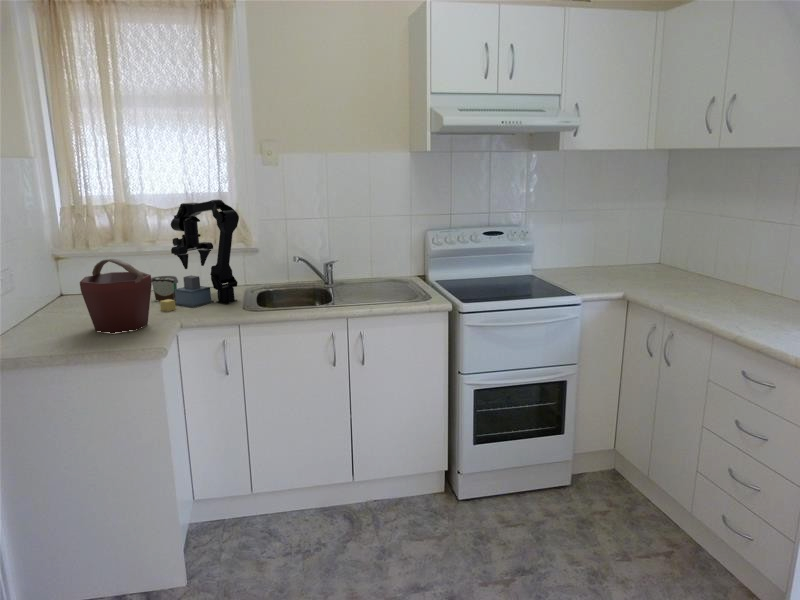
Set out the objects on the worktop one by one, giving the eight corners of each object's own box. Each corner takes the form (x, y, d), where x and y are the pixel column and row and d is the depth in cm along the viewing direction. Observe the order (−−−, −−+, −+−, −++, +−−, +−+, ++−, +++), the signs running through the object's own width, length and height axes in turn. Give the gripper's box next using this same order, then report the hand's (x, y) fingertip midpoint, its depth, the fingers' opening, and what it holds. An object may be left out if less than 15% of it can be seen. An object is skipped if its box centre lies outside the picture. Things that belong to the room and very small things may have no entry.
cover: (211, 301, 246) (209, 275, 243) (192, 306, 237) (190, 279, 234) (194, 298, 250) (192, 273, 248) (176, 303, 242) (173, 277, 239)
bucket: (164, 328, 207) (157, 259, 201) (98, 341, 192) (88, 268, 186) (138, 316, 224) (131, 252, 218) (76, 327, 209) (66, 259, 203)
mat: (214, 301, 246) (214, 300, 246) (192, 307, 236) (192, 306, 236) (194, 298, 252) (194, 297, 252) (172, 304, 241) (172, 303, 241)
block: (175, 309, 233) (174, 300, 233) (167, 312, 230) (166, 302, 229) (169, 308, 235) (168, 299, 234) (160, 310, 232) (159, 301, 231)
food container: (186, 298, 252) (183, 276, 250) (177, 301, 246) (174, 279, 244) (162, 297, 255) (159, 275, 253) (152, 300, 250) (150, 277, 247)
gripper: (195, 228, 262) (198, 262, 265) (160, 233, 246) (164, 269, 249) (212, 230, 256) (215, 264, 260) (178, 234, 240) (182, 271, 244)
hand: (194, 267), depth 253 cm, fingers open, 9 cm apart
